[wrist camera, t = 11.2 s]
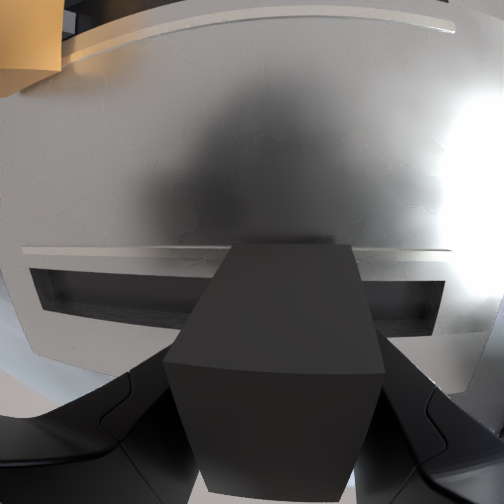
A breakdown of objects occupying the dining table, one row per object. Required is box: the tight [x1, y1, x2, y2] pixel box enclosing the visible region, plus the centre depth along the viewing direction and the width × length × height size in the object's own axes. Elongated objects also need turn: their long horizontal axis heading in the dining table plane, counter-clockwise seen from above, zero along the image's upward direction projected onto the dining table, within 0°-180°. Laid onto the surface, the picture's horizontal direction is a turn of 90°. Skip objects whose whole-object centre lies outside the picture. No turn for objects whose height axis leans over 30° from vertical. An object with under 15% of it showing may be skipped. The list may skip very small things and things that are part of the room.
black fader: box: [163, 243, 386, 502], centre depth 7 cm, size 3×4×6 cm
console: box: [0, 0, 504, 394], centre depth 9 cm, size 20×18×2 cm
